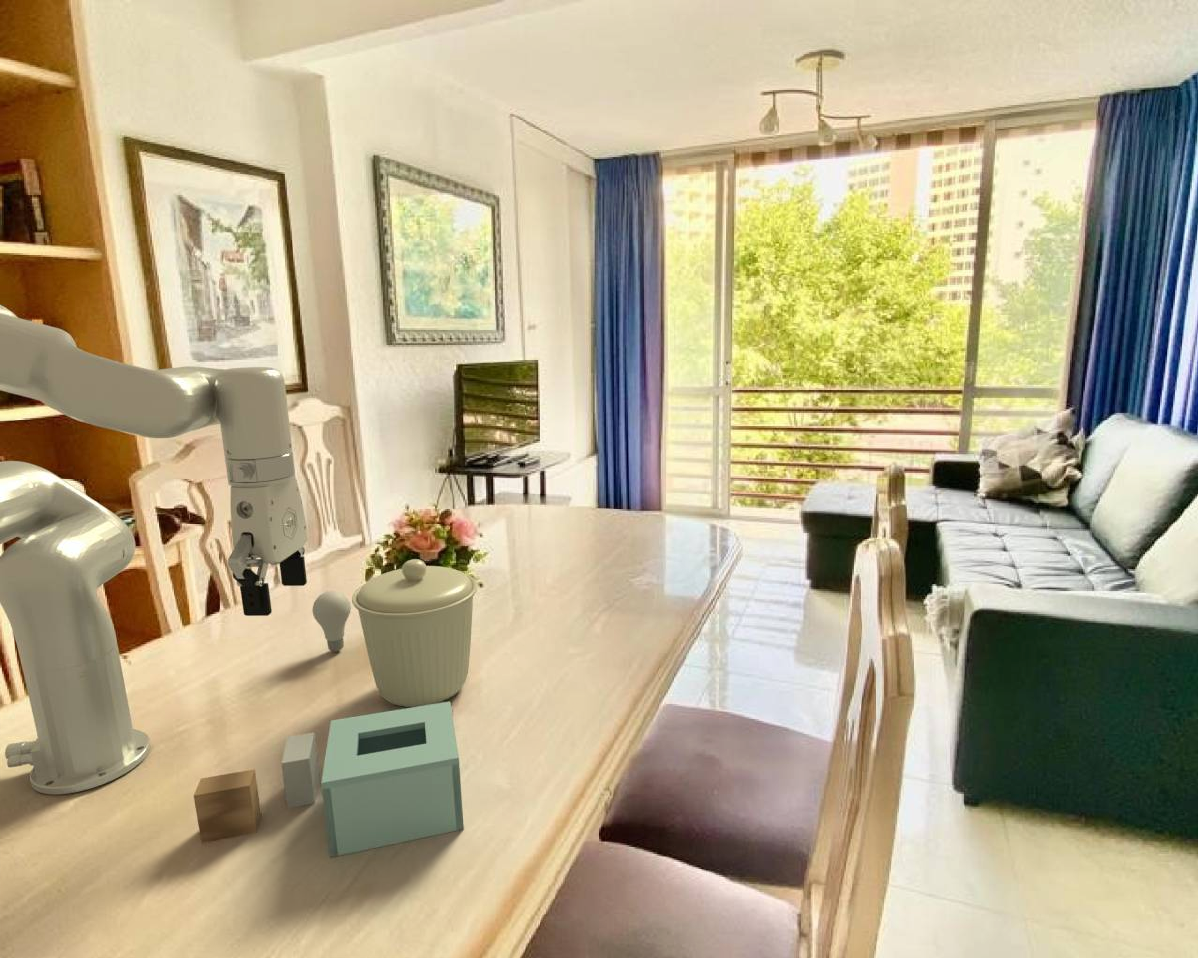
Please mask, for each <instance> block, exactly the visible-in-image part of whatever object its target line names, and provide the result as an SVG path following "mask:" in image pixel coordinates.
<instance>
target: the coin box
mask: <svg viewBox="0 0 1198 958" xmlns="http://www.w3.org/2000/svg"><path fill="white" fill-rule="evenodd" d="M452 710H453V709H452V704H451V701H442V702H439V703H437V704H431V705H425V706H418V707H406V708H401V709H395V710H388V711H384V712H383V711H382V712H375V713H369V714H364V715H357V716H352V717H346V718H338V719H333V720H330V725H329V732H328V737H327V742H326V743H327V744H326V750H325V756H324V757H325V758H324V763H323V769H322V776H321V783H320V784H321V792H322V793H321V794H322V800H323V808H324V809H323V810H324V817H325V826H326V836H327V841H328V851H329V858H334V857H338V856H339V857H340V856H342V855H349V854H353V853H357V852H358V853H359V852H362V851H366V850H372V849H377V848H381V847H382V848H383V847H386V846H390V845H395V844H401V843H406V842H411V841H414V840H418V839H423V838H428V837H433V836H437V835H443V834H447V833H451V832H455V831H456V832H457V831H461V830H464V829H465V825H464V812H463V797H462V796H463V795H462V785H461V784H462V783H461V772H460V771H461V769H460V756H459V750H458V743H457V735H456V729H455V724H454V718H453V711H452Z"/></svg>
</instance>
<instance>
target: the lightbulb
mask: <svg viewBox="0 0 1198 958" xmlns="http://www.w3.org/2000/svg"><path fill="white" fill-rule="evenodd" d="M351 610H352V605H351V601H350V600H349V597H348V596H347V595H345V593H343V592H341V591H339V590H328V591H325V592H323V593H321V594H319V595H318V596H317V598H316V599H315V600H314V602H313V605H312V615H313V617H314V619H315V620H316V622H317V624H318V625H320V627H321V629H322V630H323V633H324V638H325V640H326V642H327V647H328V650H329V651H331V652H334V653H339V652H340V650H342V649H343V648H344V647H345V646H344V640H345V639H344V637H345V628H346V623H347V621H348V619H349V616H350V614H351Z"/></svg>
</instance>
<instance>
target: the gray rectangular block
mask: <svg viewBox="0 0 1198 958" xmlns="http://www.w3.org/2000/svg"><path fill="white" fill-rule="evenodd" d="M316 745H317V744H316V736H315V732H309V733H303V734H297V735H291V736H287V739H286V743H285V747H284V752H283V755H282V759H281V762H280V764H281V771H282V772H281V773H282V779H283V785H284V793H285V794H284V795H285V800H286V809H293V808H296V807H301V806H307V805H311V804H312V805H313V804H315V803H316V799H317V797H316V796H317V792H318V784H319V781H320V780H319V779H320V769H319V761H318V751H317V746H316Z"/></svg>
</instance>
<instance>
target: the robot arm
mask: <svg viewBox="0 0 1198 958" xmlns="http://www.w3.org/2000/svg"><path fill="white" fill-rule="evenodd" d="M1 391H2V392H6V393H9V394H13V395H16V396H17V395H18V396H21V397H24V398H25V397H26V398H28V399H29V398H30V399H33V400H36V401H40V402H41V403H43V404H44V405H45V406H47V407H48V408H50V409H53V410H54V411H57V412H59V413H60V414H61V415H64V416H66V417H69V418H71V419H73V420H76V421H79V422H82V423H85V424H90V425H93V426H96V427H101V428H104V429H108V430H113V431H118V432H121V433H125V434H129V435H132V436H133V435H134V436H139V437H144V438H150V439H171V438H176V437H180V436H182V435H184V434H187V433H189V432H191V431H196V430H200V429H203V428H207V427H210V426H215V425H220V431H221V439H222V448H223V453H224V462H225V469H226V476H227V481H228V485H229V486H230V521H231V522H230V523H231V534H232V543H233V544H232V545H233V549H232V551H231V553H230V555H229V556H228V558H227V565H228V567H229V569H230V571H231V573H232V574H231V575H232V578H233V579H234V580H235V581H236V585H237V587H239V591H240V596H241V603H242V610H243V611H242V612H243V614H244V616H246V617H249V616H251V617H255V616H256V617H257V616H260V617H267V616H270V615H271V614H272V612H273V611H272V610H273V609H272V604H271V603H272V602H271V596H270V595H271V594H270V587H269V583H268V582H267V583H266V582H265V581H266V577H267V573H268V568H269V565H271V566H276V565H279V572H280V578H281V585H283V586H284V587H292V586H293V587H303V586H305V585H307V583H308V581H307V580H308V579H307V573H306V572H307V571H306V562H305V556H304V555H305V553H306V548H305V545H307V544H306V543H307V541H308V530H307V529H308V528H307V523H306V518H305V511H304V505H303V499H302V495H301V491H300V487H299V483H298V480H297V478H296V477H297V476H296V469H295V462H294V461H295V460H294V452H293V446H292V445H293V444H292V443H293V442H292V436H291V424H290V416H289V409H288V408H289V407H288V398H287V389H286V383H285V377H284V376H283V374H282V373H281V371H280V370H278V369H277V368H273V367H267V366H257V367H256V366H255V367H254V366H252V367H251V366H249V367H233V368H227V369H224V368H223V369H222V368H214V367H213V368H211V367H205V366H188V365H187V366H179V367H169V368H161V369H157V370H155V369H149V368H144V367H140V366H136V365H132V364H129V363H124V362H120V361H116V360H113V359H109V358H105V357H102V356H99V355H96V354H92V353H91V352H87V351H84V350H83V349H81V348H78V347H77V343H76V342H75V340H74V338H73V337H72V335H71V334H70V333H68V332H67V331H65V330H63V329H61V328H58V327H56V326H55V327H54V326H50V325H47V324H42V323H39V322H35V321H31V320H28V319H23V318H20V317H18V316H17V315H16V314H15V313H14V312H13V311H11V310H9V309H8V308H7V307H5V306H4V305H1V304H0V392H1ZM133 534H134V533H133V532H132V530H131V528H130V527H129V526H128V524H127V523H126V522H124V520H122V518H120V517H119V516H118V515H116V514H115V513H114V512H112V511H111V510H110V509H108V508H106V507H105V506H103V505H102V504H101V503H99V502H97V501H96V500H94V499H93V498H92V497H90V496H88V495H87V494H86V493H84V492H82V491H81V490H79V489H78V488H77V487H75V486H73V485H72V484H70V483H69V482H68V481H66V480H64V479H62V478H61V477H59V476H58V475H56V474H54V472H52V471H50V470H48V469H46V468H43V467H41V466H38V465H36V464H33V463H29V462H27V461H26V462H25V461H19V460H5V461H0V545H1V544H4V543H6V542H9V541H11V540H13V539H15V538H17V537H18V538H20V539H17V540H16V541H15V542H14V543H12V544H10V545H9V546H8V547H7V548H6V549H5V550H4V551H3V552H2V553H1V555H0V606H1V608H2V609H3V611H4V613H5V615H6V617H7V619H8V621H9V624H10V627H11V630H12V632H13V636H14V639H15V642H16V646H17V650H18V654H19V655H18V656H19V659H20V664H21V668H22V672H23V675H24V680H25V685H26V690H27V695H28V698H29V704H30V708H31V712H32V717H33V721H34V726H35V730H36V735H37V738H36V739H35V740H30V741H21V742H12V743H8V744H7V745H6V747H5V751H4V754H5V758H6V763H7V767H8V768H15V767H21V766H24V765H30V766H33V767H32V769H31V771H30V773H29V781H30V784H31V787H32V788H33V790H35V791H37V792H39V793H42V794H45V795H56V796H57V795H69V794H74V793H79V792H82V791H87V790H90V789H93V788H97V787H99V786H100V787H101V786H102V785H104V784H107V783H110V782H112V781H114V780H116V779H118V778H120V777H122V776H124V775H125V774H127V773H128V772H130V771H131V770H133V769H135V767H137V766H138V765H139V764H140V763H141V762H143V761H144V759H145V758H146V757H147V755H148V754H149V753H150V749H151V741H150V738H149V735H148V734H147V733H146V732H144V731H142V730H139V729H134V727H133V722H132V718H131V712H130V706H129V701H128V696H127V689H126V685H125V679H124V674H123V673H124V672H123V667H122V663H121V658H120V653H119V652H120V651H119V646H118V642H117V637H116V631H115V628H114V623H113V620H112V618H111V616H110V614H109V613H108V611H107V609H106V608H105V606H104V605H103V603H102V602H101V600H100V598H99V596H98V591H97V590H98V589H99V588H100V587H101V586H102V585H104V584H105V583H107V582H108V581H110V580H111V579H113V578H114V577H116V576H118V574H120V572H122V571H124V570H125V569H126V568H127V567H128V565H129V564H130V563H131V562H132V560H133V558H134V556H135V553H136V540H135V536H134V535H133ZM258 558H259V559H258ZM254 567H255V568H257V571H256V572H254V570H252V568H254Z"/></svg>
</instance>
